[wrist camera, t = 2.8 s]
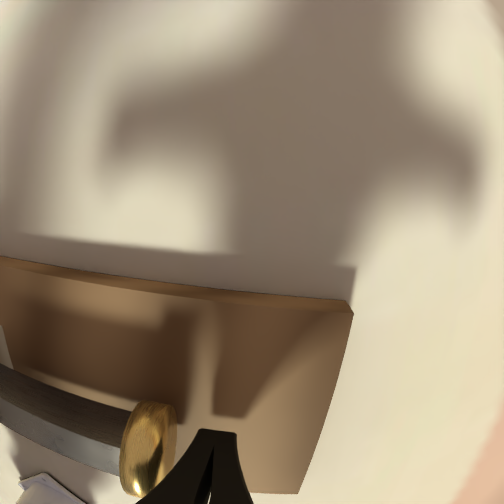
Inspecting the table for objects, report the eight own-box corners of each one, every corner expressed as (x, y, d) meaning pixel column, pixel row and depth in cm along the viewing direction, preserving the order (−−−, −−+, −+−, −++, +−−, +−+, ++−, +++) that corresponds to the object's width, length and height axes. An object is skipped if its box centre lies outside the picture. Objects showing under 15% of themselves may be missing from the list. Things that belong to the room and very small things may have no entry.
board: (345, 300, 11) (405, 394, 5) (296, 478, 13) (302, 562, 8) (-66, 241, 12) (-125, 261, 6) (-34, 379, 14) (-75, 414, 8)
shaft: (174, 384, 10) (141, 461, 7) (179, 450, 11) (157, 518, 7) (-26, 322, 11) (-74, 351, 7) (-8, 382, 12) (-46, 416, 8)
